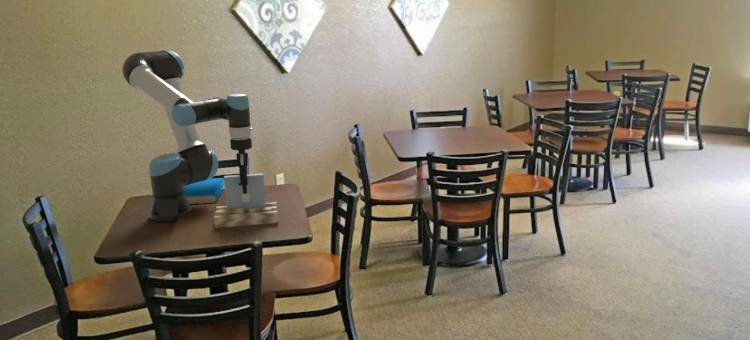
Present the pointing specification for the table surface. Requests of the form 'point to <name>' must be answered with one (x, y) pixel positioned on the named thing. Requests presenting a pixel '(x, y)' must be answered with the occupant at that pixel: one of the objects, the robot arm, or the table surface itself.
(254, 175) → the pale blue panel
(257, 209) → the offcut right
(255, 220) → the rack
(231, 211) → the offcut left
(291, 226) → the table surface
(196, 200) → the book
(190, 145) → the robot arm
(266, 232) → the table surface
